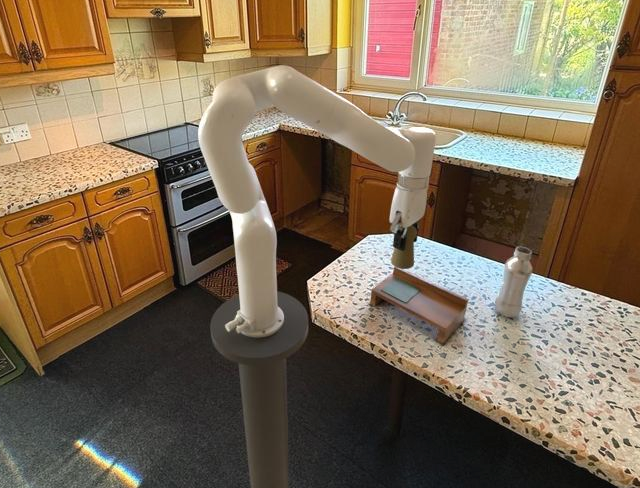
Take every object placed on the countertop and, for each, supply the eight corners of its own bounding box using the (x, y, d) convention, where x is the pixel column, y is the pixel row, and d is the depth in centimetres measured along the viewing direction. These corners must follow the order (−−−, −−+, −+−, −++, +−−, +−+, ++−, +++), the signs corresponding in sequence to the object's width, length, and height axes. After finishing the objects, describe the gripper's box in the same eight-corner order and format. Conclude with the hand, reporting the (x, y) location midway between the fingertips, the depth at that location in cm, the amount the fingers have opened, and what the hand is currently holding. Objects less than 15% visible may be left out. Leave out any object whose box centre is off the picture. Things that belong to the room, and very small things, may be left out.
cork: (389, 266, 105) (393, 230, 100) (392, 254, 110) (396, 219, 105) (413, 270, 103) (418, 233, 98) (414, 258, 108) (420, 222, 103)
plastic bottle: (506, 323, 105) (525, 260, 97) (487, 307, 111) (503, 246, 102) (524, 317, 108) (544, 254, 99) (505, 301, 113) (522, 241, 104)
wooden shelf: (443, 344, 99) (447, 322, 96) (370, 303, 112) (371, 283, 109) (463, 320, 107) (468, 299, 103) (393, 284, 120) (395, 265, 117)
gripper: (417, 167, 104) (409, 228, 112) (380, 185, 93) (374, 251, 101) (444, 174, 99) (433, 237, 107) (408, 195, 88) (399, 263, 96)
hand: (404, 243), depth 104 cm, fingers closed on cork, 5 cm apart
